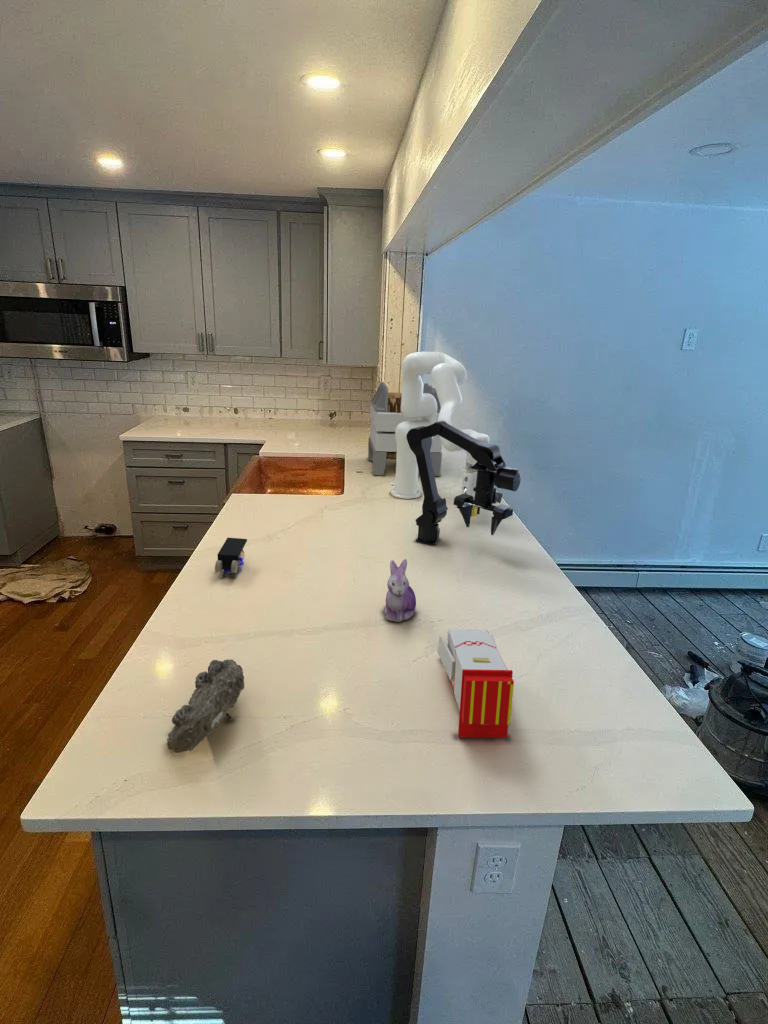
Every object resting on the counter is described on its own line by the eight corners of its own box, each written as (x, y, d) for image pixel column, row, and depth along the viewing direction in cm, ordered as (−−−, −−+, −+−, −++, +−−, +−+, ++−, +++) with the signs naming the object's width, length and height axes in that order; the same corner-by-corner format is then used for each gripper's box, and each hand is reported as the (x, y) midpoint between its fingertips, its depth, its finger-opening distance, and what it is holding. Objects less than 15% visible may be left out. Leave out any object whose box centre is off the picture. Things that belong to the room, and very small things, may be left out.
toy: (488, 613, 130) (523, 677, 101) (484, 667, 133) (517, 744, 104) (435, 612, 130) (455, 676, 101) (432, 666, 133) (451, 743, 103)
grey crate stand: (367, 457, 298) (369, 379, 284) (428, 458, 302) (433, 380, 288) (373, 475, 266) (376, 388, 253) (441, 476, 270) (448, 390, 256)
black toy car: (238, 584, 162) (249, 557, 175) (236, 562, 158) (247, 536, 172) (215, 584, 161) (227, 556, 175) (212, 561, 158) (225, 535, 171)
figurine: (392, 627, 141) (395, 572, 136) (374, 608, 149) (376, 556, 144) (425, 619, 145) (429, 566, 140) (405, 601, 154) (408, 550, 149)
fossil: (192, 660, 117) (244, 628, 112) (224, 691, 120) (276, 661, 115) (142, 746, 98) (202, 712, 93) (182, 779, 101) (242, 748, 96)
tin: (465, 516, 213) (467, 504, 211) (467, 512, 216) (468, 501, 214) (475, 517, 211) (477, 505, 210) (477, 514, 215) (478, 502, 213)
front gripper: (524, 486, 177) (518, 532, 182) (473, 473, 188) (469, 517, 194) (506, 493, 169) (500, 541, 174) (454, 479, 180) (450, 525, 186)
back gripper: (467, 472, 200) (463, 521, 206) (499, 466, 210) (494, 513, 216) (452, 468, 205) (448, 515, 211) (483, 462, 215) (479, 507, 221)
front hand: (480, 530), depth 182 cm, fingers open, 9 cm apart
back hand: (471, 514), depth 214 cm, fingers closed on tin, 3 cm apart
